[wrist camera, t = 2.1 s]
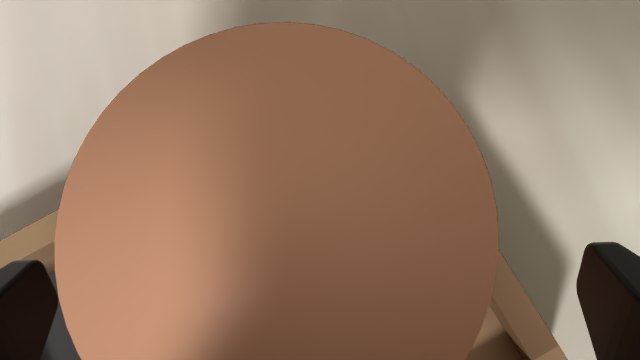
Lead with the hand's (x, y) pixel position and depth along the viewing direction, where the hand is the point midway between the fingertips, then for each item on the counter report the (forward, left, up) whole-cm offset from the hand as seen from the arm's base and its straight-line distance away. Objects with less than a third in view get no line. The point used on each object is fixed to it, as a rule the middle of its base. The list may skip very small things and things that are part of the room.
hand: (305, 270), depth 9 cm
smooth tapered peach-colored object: (0, 0, -7) cm, 7 cm away
